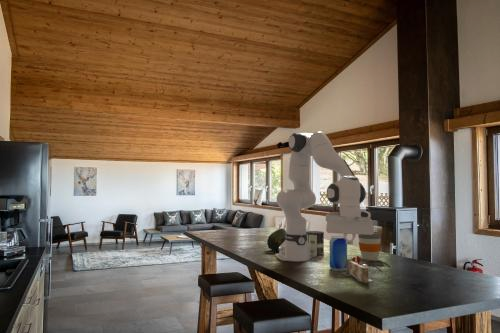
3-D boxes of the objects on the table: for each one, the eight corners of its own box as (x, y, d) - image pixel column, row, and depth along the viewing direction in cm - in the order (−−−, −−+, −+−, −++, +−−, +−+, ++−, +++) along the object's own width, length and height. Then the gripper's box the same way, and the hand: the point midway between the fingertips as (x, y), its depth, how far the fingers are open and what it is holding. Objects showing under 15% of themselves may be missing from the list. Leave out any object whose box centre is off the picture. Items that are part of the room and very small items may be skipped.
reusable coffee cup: (377, 262, 205) (376, 234, 206) (354, 259, 213) (354, 232, 213) (384, 259, 215) (384, 232, 216) (363, 256, 223) (362, 230, 223)
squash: (260, 243, 234) (276, 225, 232) (266, 241, 249) (281, 224, 247) (276, 260, 230) (293, 242, 228) (282, 256, 245) (297, 239, 243)
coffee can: (322, 254, 228) (322, 231, 228) (325, 258, 217) (325, 233, 218) (305, 254, 228) (305, 230, 229) (307, 257, 218) (307, 233, 218)
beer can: (334, 272, 182) (334, 238, 183) (326, 268, 190) (326, 236, 191) (350, 271, 184) (350, 237, 185) (341, 267, 192) (341, 235, 193)
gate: (345, 272, 179) (345, 258, 179) (350, 272, 179) (350, 258, 179) (363, 283, 159) (363, 267, 159) (369, 283, 159) (369, 267, 160)
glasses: (359, 263, 204) (359, 254, 204) (390, 267, 194) (390, 257, 195) (349, 268, 193) (349, 258, 193) (382, 272, 183) (382, 262, 183)
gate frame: (339, 273, 179) (339, 258, 179) (350, 272, 181) (350, 257, 181) (363, 282, 162) (363, 266, 162) (375, 281, 164) (375, 265, 165)
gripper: (325, 212, 166) (325, 244, 166) (374, 214, 163) (374, 246, 162) (325, 211, 173) (325, 241, 172) (372, 212, 169) (372, 244, 168)
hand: (349, 244), depth 167 cm, fingers closed
